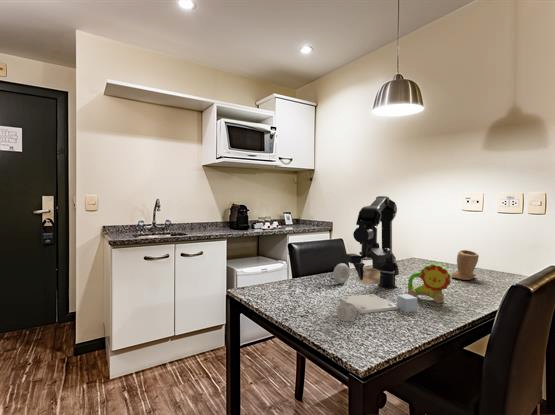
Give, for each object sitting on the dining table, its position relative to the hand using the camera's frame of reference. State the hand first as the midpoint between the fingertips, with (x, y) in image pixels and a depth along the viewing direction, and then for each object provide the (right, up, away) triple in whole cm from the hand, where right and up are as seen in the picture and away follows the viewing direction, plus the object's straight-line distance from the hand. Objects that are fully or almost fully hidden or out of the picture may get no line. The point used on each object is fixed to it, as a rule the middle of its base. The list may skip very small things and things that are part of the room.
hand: (368, 279), depth 124 cm
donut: (-5, -9, +29) cm, 31 cm away
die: (-12, -10, -15) cm, 22 cm away
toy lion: (+27, -10, +7) cm, 30 cm away
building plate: (0, -10, 0) cm, 10 cm away
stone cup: (+64, -10, +44) cm, 78 cm away
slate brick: (+13, -10, -5) cm, 17 cm away
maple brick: (0, -1, 0) cm, 1 cm away
